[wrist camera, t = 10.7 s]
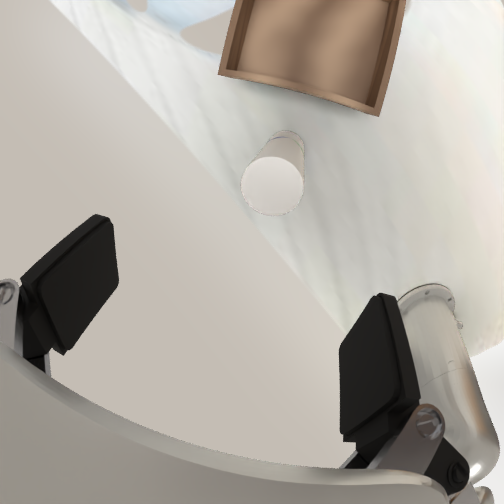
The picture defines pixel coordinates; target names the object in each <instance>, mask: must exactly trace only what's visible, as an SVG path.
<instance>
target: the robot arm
mask: <svg viewBox="0 0 504 504" xmlns="http://www.w3.org/2000/svg"><path fill="white" fill-rule="evenodd" d="M20 280H21V282H22V285H21V286H20V287H19V285H18V283H17V282H16V281H15V280H12V279H4V280H1V281H0V504H494V498H493V494H492V492H491V490H490V489H489V488H488V487H484V486H481V487H476V488H474V487H473V484H475V483H477V482H478V481H480V480H481V479H483V478H484V477H485V476H487V475H488V474H489V473H490V472H491V470H492V469H493V468H494V466H495V465H496V463H497V461H498V458H499V453H500V447H499V440H498V436H497V433H496V431H495V428H494V426H493V423H492V421H491V418H490V416H489V413H488V411H487V408H486V405H485V403H484V400H483V397H482V394H481V391H480V388H479V385H478V381H477V379H476V375H475V372H474V370H473V367H472V364H471V361H470V358H469V355H468V353H467V350H466V347H465V345H464V342H463V340H462V337H461V335H460V332H459V330H458V329H461V328H462V327H463V323H462V322H459V321H456V319H455V317H454V315H453V312H454V307H455V301H454V297H453V295H452V293H451V292H450V291H449V289H447V288H446V287H444V286H441V285H435V284H433V285H426V286H422V287H419V288H417V289H414V290H413V291H411V292H409V293H408V294H406V295H405V296H404V297H402V298H401V299H400V300H399V301H398V302H397V300H396V298H395V297H394V296H391V295H387V294H384V293H379V294H377V296H373V297H372V298H371V299H370V301H369V302H368V304H367V306H366V307H365V309H364V310H363V312H362V313H361V315H360V317H359V318H358V320H357V321H356V323H355V324H354V326H353V327H352V329H351V330H350V331H349V333H348V334H347V336H346V337H345V339H344V340H343V342H342V343H341V345H340V348H339V372H340V433H341V434H343V442H356V450H355V451H354V452H353V454H352V455H351V456H350V457H349V458H348V459H347V460H346V461H345V462H344V463H343V464H342V465H341V467H340V468H339V469H335V468H319V467H307V466H297V465H296V466H295V465H288V464H280V463H273V462H267V461H261V460H255V459H250V458H245V457H241V456H236V455H232V454H227V453H223V452H219V451H215V450H211V449H208V448H204V447H200V446H197V445H194V444H191V443H187V442H185V441H182V440H178V439H175V438H173V437H170V436H167V435H164V434H161V433H159V432H156V431H154V430H151V429H149V428H146V427H144V426H141V425H139V424H137V423H134V422H132V421H130V420H128V419H125V418H123V417H121V416H119V415H117V414H115V413H113V412H111V411H109V410H106V409H104V408H103V407H101V406H99V405H97V404H95V403H93V402H91V401H89V400H88V399H86V398H84V397H82V396H80V395H79V394H77V393H75V392H74V391H72V390H70V389H69V388H67V387H65V386H64V385H62V384H61V383H59V382H57V381H56V380H54V379H53V378H51V370H50V359H49V351H50V349H51V348H53V349H54V350H55V351H57V352H58V353H60V354H62V355H64V354H65V353H66V351H67V350H70V349H72V348H73V346H74V345H75V343H76V342H77V341H78V339H79V338H80V336H81V335H82V333H83V332H84V331H85V329H86V328H87V326H88V325H89V324H90V322H91V321H92V320H93V318H94V317H95V316H96V314H97V313H98V312H99V310H100V309H101V307H102V306H103V305H104V304H105V302H106V301H107V300H108V298H109V297H110V295H112V293H113V292H114V290H115V289H116V288H117V286H118V283H119V276H118V268H117V259H116V250H115V240H114V228H113V224H112V223H111V221H110V219H109V218H108V217H105V216H101V215H98V214H95V215H93V216H91V217H90V218H89V219H88V220H86V221H85V222H84V223H82V224H81V225H80V226H79V227H78V228H76V229H75V230H74V231H72V232H71V233H70V234H69V235H67V236H66V237H65V238H64V239H63V240H61V241H60V242H59V243H58V244H57V245H56V246H54V247H53V248H52V249H51V250H50V251H49V252H48V253H46V254H45V255H44V256H43V257H42V258H41V259H40V260H39V261H38V262H36V263H35V264H34V265H33V266H32V267H31V268H30V269H29V270H28V271H27V272H26V273H25V274H24V275H23V276H22V277H21V278H20Z"/></svg>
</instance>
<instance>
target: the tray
mask: <svg viewBox="0 0 504 504" xmlns="http://www.w3.org/2000/svg"><path fill="white" fill-rule="evenodd" d="M405 4H406V0H236V2H235V6H234V9H233V13H232V17H231V20H230V25H229V28H228V32H227V36H226V40H225V45H224V49H223V53H222V58H221V62H220V66H219V71H218V75H221V76H225V77H230V78H235V79H241V80H247V81H252V82H258V83H263V84H268V85H272V86H277V87H281V88H285V89H290V90H294V91H298V92H301V93H305V94H309V95H312V96H316V97H319V98H322V99H326V100H329V101H332V102H335V103H338V104H341V105H344V106H347V107H350V108H353V109H356V110H358V111H361V112H364V113H366V114H370V115H374V116H377V117H379V115H380V111H381V108H382V104H383V101H384V97H385V94H386V90H387V86H388V83H389V79H390V75H391V71H392V67H393V63H394V59H395V55H396V50H397V46H398V41H399V36H400V32H401V27H402V21H403V16H404V9H405Z"/></svg>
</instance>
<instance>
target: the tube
mask: <svg viewBox="0 0 504 504" xmlns="http://www.w3.org/2000/svg"><path fill="white" fill-rule="evenodd" d="M303 191H304V145H303V142H302V140H301V138H300V137H299V136H298V135H297V134H295V133H293V132H291V131H280V132H277V133H276V134H274V135H273V136H272V137H271V138H270V140H269V141H268V142H267V143H266V144H265V146H264V147H263V148H262V149H261V151H260V152H259V153H258V154H257V155H256V157H255V158H254V159H253V160H252V162H251V163H250V164H249V165H248V167H247V168H246V169H245V171H244V173H243V175H242V178H241V192H242V195H243V197H244V199H245V201H246V202H247V204H248V205H249V206H250V207H251V208H253V209H254V210H255V211H257V212H259V213H261V214H264V215H268V216H279V215H284V214H286V213H288V212H290V211H291V210H293V209H294V208H295V207H296V206H297V205H298V204H299V202H300V201H301V198H302V196H303Z"/></svg>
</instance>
